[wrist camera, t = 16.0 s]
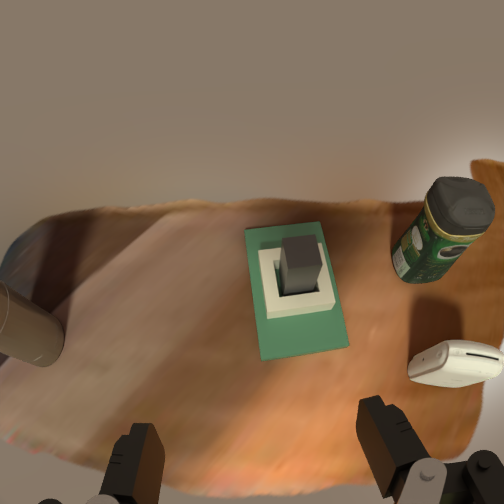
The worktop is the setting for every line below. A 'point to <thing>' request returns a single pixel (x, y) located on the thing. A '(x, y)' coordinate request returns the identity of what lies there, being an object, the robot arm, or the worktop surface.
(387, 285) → the worktop surface
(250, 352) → the worktop surface
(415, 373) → the photo printer
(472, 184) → the coffee jar
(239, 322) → the worktop surface
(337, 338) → the header board
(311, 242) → the plug
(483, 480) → the robot arm
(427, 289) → the worktop surface
